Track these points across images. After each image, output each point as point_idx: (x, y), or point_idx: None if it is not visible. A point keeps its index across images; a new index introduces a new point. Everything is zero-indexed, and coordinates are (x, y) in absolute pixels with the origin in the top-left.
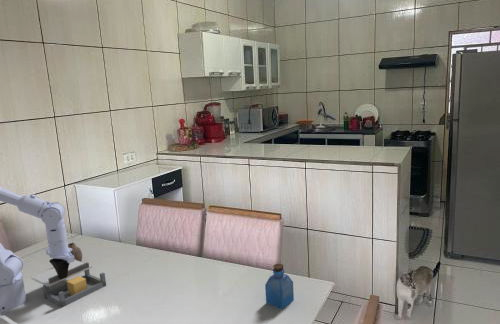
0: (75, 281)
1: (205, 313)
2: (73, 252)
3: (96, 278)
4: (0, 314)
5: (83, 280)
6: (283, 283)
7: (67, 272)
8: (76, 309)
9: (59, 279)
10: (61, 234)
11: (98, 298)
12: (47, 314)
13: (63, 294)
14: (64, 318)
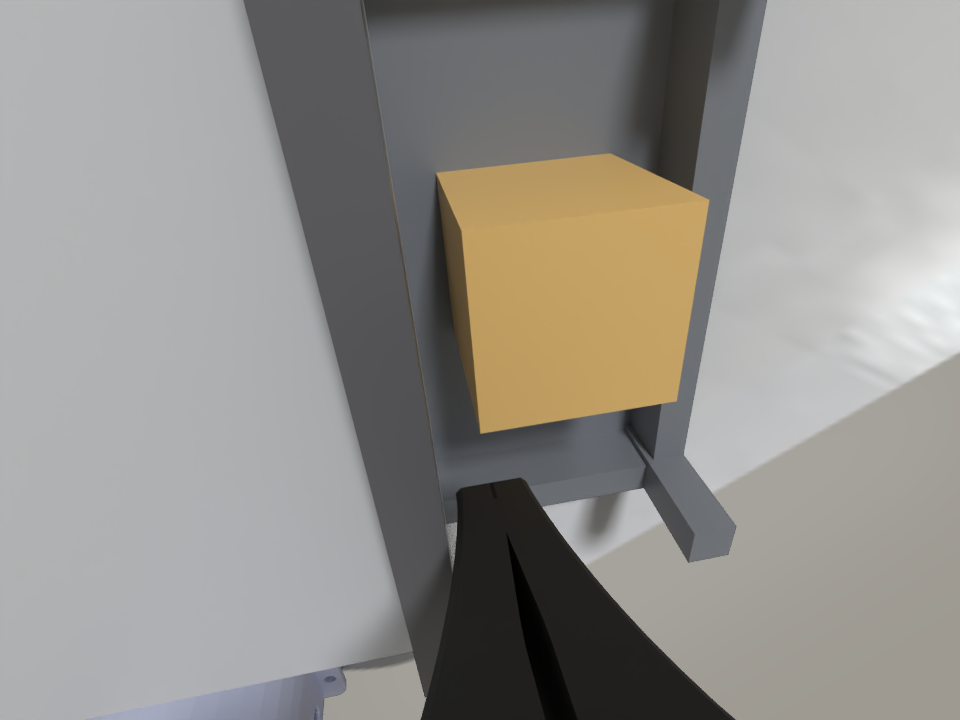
0: (617, 352)
1: None
2: None
3: None
4: (331, 694)
5: (695, 243)
6: None
7: (559, 536)
8: (752, 361)
9: (448, 541)
10: None
11: (817, 124)
12: (595, 513)
13: (719, 512)
14: (762, 455)
